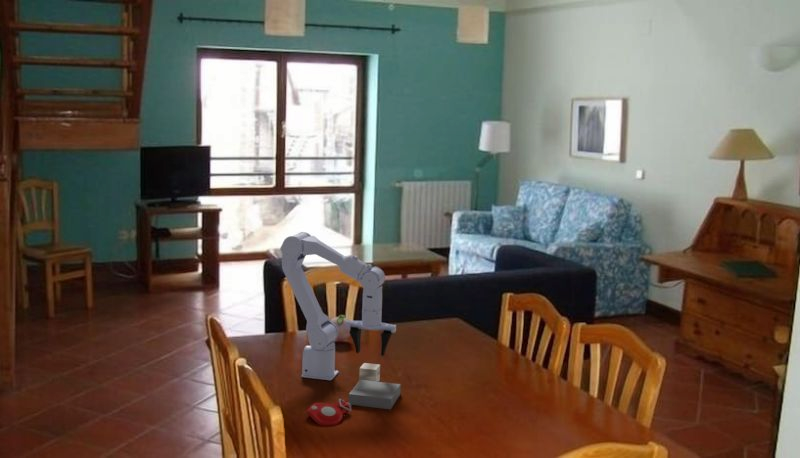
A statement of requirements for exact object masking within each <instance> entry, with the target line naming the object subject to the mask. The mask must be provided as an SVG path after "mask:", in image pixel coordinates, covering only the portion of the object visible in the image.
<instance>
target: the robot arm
mask: <svg viewBox="0 0 800 458" xmlns="http://www.w3.org/2000/svg"><path fill="white" fill-rule="evenodd" d="M279 249H280V252H281V268H282V271H283V273H284V276H285V278H286V279H287V281H288V283H289V286H290V288H291V290H292V293H293V294H294V296H295V299H296V301H297V303H298V305H299V306H300V310H301V312H302V314H303V315H304V317H305V320H306V327H305V331H306V332H307V338H308V339H307V340H308V343H309V345H305V346H304V348H303V352H302V365H301V369H302V370H301V371H302V372H301V376H300V377H301V378H307V379H315V380H323V381H324V380H325V381H332V380H333V379H334V378H335V377H336V376H337V375H338V374H339V372H340V371H339V370H337V369H336V370H335V368H336V366H335V365H336V362H335V361H336V343H335V341H337V340H336V339H337V337H338V329H337V327H336V325H335V324H333V323H332V322H331V320H332V319H330V317H329V315H327V314H325V313H324V312H323V309H322V307H321V306H320V304H319V302H318V299H317V297H316V294H315V293H314V290H313V288H312V287H311V284H310V282H309V281H308V278H307V276H306V273H305V272H304V270H303V268H302V265H303V262H304V260H305V258H306V256H311V255H317V256H318V257H320V258H322V259H324V260H327V261H328V262H330V263H332V264H335V265H336V266H338V267H339V271H340V272H341V273H342V274H344V275H345V276H348V277H349V278H351V279H353V280H354V281H356V282H358V283H360V286H361V287H362V306H361V307H362V309H361V320H350V319H349V321H348V322H347V328H350V331H349V332H350V336H351V338H352V341H353V344H354V347H355V353H356V354H359V353H360V352H361V335H362V330H368V331H369V330H370V331H377V332H382V333H380V334H381V335H380V336H381V337H380V338H381V339H380V340H381V348H380V349H381V350H380V356H382V357H384V356H385V355H386V350H387V346H388V343H389V340H390V339H391V337H392V335H393V334H395V333H396V332H397V324H392V323H387V322H382V310H383V309H382V308H383V284H384V283H385V281H386V275H385V272H384V270H382V268H381V267H379V266H373V264H371V263H368V264H367V263H366V262H364V261H362V260H360V259H359V256H357V255H356V254H355V255H351V254H349V255H343V254H342V253H341V252H339V251H337V250H336V249H334V248H332V247H331V246H330V245H327V244H326V243H324V242H323V241H321V240H320V239H319V238H318V237H317V236H315V235H311V234H310V233H308V232H306V231H300V232H298V233H297V234H294V235H291V236H287V237H286V238H285V239H284V240H283V242H282V244H281V246H280V248H279Z"/></svg>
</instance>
